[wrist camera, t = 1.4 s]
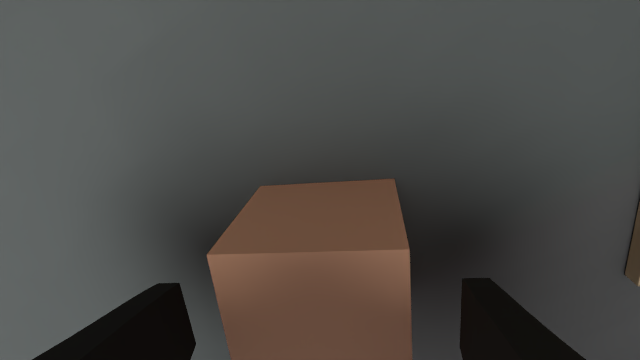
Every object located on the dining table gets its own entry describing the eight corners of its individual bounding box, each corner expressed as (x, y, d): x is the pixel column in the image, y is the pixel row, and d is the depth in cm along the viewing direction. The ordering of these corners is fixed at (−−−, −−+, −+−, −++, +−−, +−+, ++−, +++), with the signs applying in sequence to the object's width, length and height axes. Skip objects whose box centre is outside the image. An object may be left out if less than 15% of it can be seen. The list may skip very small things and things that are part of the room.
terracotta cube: (398, 293, 13) (413, 407, 9) (278, 294, 14) (241, 401, 10) (394, 177, 12) (409, 249, 8) (260, 185, 12) (206, 254, 8)
